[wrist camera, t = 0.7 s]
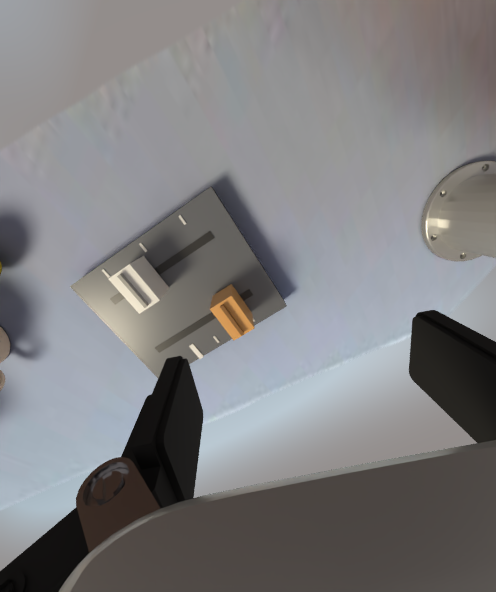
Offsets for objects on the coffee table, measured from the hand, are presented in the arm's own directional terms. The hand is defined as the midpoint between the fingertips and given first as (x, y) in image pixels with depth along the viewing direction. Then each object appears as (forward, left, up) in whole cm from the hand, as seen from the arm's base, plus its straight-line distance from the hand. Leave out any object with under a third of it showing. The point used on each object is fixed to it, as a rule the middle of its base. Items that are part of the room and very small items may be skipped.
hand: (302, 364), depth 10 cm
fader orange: (+6, +4, -23) cm, 24 cm away
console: (+11, 0, -26) cm, 28 cm away
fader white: (+13, -5, -23) cm, 27 cm away
